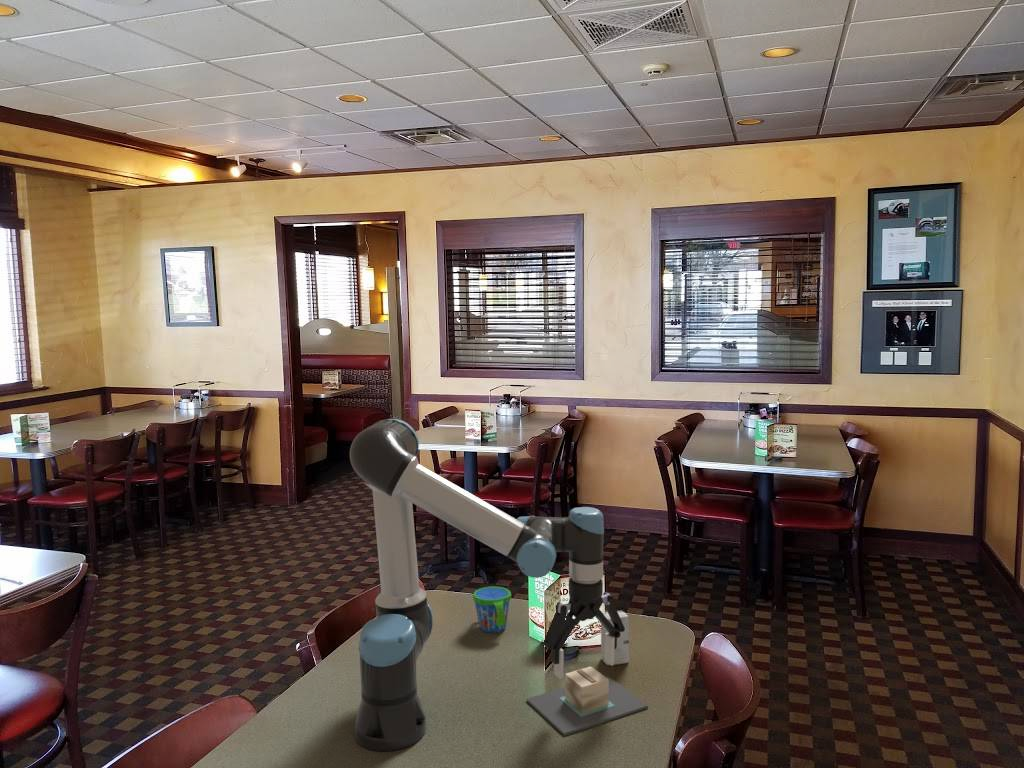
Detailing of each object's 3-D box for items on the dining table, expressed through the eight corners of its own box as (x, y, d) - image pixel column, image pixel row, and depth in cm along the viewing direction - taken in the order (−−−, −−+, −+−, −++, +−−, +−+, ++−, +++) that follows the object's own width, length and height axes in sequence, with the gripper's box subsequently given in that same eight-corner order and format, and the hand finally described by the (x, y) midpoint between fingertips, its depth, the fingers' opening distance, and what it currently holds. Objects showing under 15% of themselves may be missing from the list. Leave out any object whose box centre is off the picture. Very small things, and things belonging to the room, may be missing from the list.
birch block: (608, 704, 167) (608, 678, 166) (582, 713, 164) (582, 686, 163) (590, 691, 173) (590, 665, 172) (565, 699, 170) (564, 673, 169)
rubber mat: (564, 736, 156) (564, 732, 156) (526, 701, 170) (526, 698, 170) (647, 707, 167) (647, 705, 167) (606, 677, 181) (606, 674, 181)
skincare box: (607, 666, 186) (607, 619, 185) (600, 658, 191) (600, 612, 189) (629, 662, 188) (629, 616, 187) (622, 654, 192) (622, 609, 191)
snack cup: (469, 618, 216) (468, 584, 215) (505, 614, 219) (504, 581, 217) (479, 642, 201) (478, 605, 200) (517, 637, 203) (516, 601, 202)
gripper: (621, 563, 175) (619, 650, 177) (528, 582, 163) (527, 674, 165) (641, 574, 168) (639, 664, 170) (546, 593, 156) (545, 690, 159)
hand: (584, 669), depth 168 cm, fingers open, 13 cm apart
